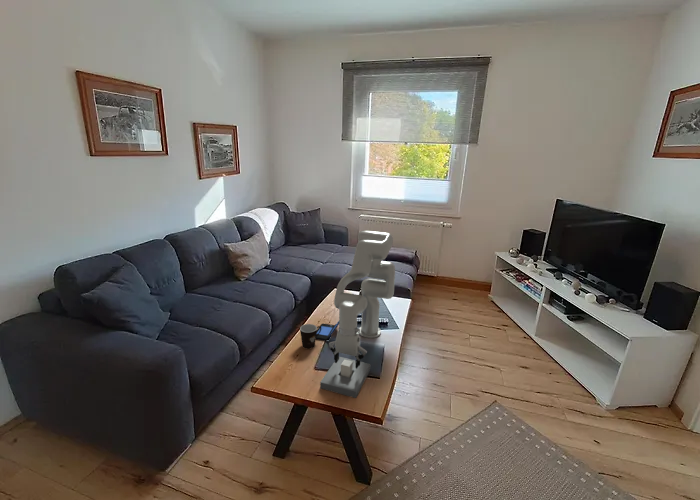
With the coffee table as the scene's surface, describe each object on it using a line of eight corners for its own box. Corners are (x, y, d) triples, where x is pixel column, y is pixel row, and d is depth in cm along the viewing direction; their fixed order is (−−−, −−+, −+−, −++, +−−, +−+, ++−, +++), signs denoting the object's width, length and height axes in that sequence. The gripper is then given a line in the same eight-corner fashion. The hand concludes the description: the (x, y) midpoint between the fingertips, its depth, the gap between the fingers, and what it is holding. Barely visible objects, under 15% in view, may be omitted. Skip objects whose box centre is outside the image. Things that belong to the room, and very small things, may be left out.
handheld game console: (321, 325, 192) (321, 310, 190) (343, 328, 189) (344, 314, 187) (311, 339, 178) (311, 323, 175) (335, 343, 175) (336, 327, 172)
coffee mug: (301, 351, 166) (301, 333, 163) (299, 342, 174) (298, 325, 171) (324, 348, 169) (324, 330, 167) (320, 339, 177) (321, 322, 175)
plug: (343, 374, 150) (344, 359, 147) (352, 377, 148) (352, 361, 146) (340, 380, 146) (340, 364, 144) (349, 382, 145) (349, 366, 142)
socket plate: (338, 361, 159) (338, 356, 158) (370, 369, 154) (370, 364, 153) (320, 388, 141) (320, 382, 140) (355, 398, 135) (356, 392, 135)
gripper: (370, 329, 141) (368, 363, 146) (332, 321, 147) (332, 354, 152) (364, 338, 134) (363, 373, 139) (325, 329, 140) (325, 364, 145)
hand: (347, 363), depth 146 cm, fingers open, 9 cm apart
